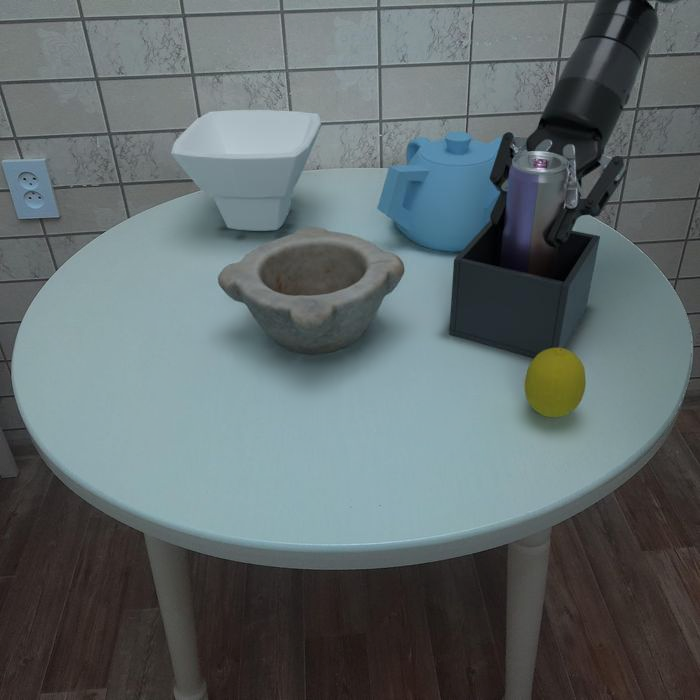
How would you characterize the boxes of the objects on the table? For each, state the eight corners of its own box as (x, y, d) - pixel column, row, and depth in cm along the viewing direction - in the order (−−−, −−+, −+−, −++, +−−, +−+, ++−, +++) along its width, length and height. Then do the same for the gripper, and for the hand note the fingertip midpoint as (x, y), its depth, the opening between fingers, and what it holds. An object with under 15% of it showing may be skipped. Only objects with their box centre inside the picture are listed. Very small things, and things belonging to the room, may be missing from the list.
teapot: (376, 250, 100) (376, 153, 92) (401, 195, 115) (403, 108, 107) (517, 264, 96) (530, 164, 88) (524, 205, 111) (536, 115, 103)
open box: (586, 309, 86) (600, 235, 81) (555, 364, 78) (569, 286, 72) (487, 285, 91) (494, 214, 86) (448, 334, 83) (453, 259, 77)
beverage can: (495, 299, 80) (508, 169, 72) (499, 272, 85) (512, 148, 76) (550, 304, 79) (570, 173, 70) (551, 277, 84) (570, 151, 75)
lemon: (509, 415, 71) (517, 348, 66) (543, 390, 74) (553, 325, 69) (556, 443, 68) (568, 375, 63) (589, 416, 71) (604, 349, 66)
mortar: (214, 335, 84) (202, 266, 79) (320, 280, 93) (316, 215, 88) (312, 398, 74) (306, 324, 69) (419, 330, 84) (421, 260, 78)
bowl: (331, 198, 115) (327, 110, 106) (307, 256, 99) (301, 158, 91) (217, 194, 117) (205, 108, 109) (177, 250, 102) (159, 154, 93)
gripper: (520, 65, 78) (453, 205, 77) (652, 85, 70) (579, 241, 70) (538, 102, 84) (476, 232, 84) (661, 125, 76) (594, 268, 76)
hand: (523, 235), depth 77 cm, fingers closed on beverage can, 6 cm apart
